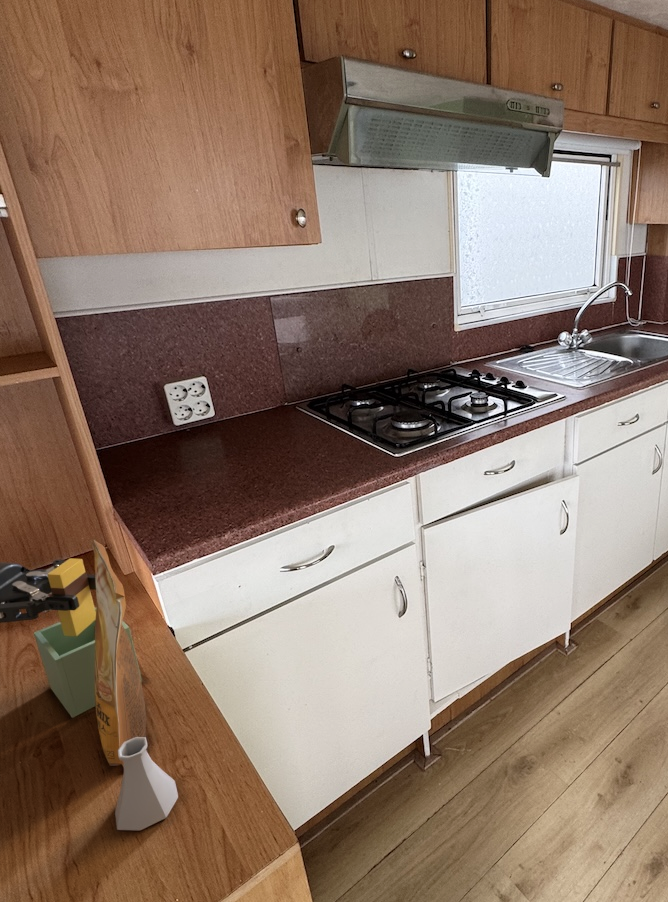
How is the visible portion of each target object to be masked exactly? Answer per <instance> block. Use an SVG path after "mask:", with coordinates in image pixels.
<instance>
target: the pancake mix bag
mask: <svg viewBox="0 0 668 902" xmlns="http://www.w3.org/2000/svg"><path fill="white" fill-rule="evenodd" d="M89 543H90V545H91V547H92V550H93V554H94V575H95V579H96V590H95V593H96V594H95V595H96V596H95V597H96V598H95V599H96V600H95V601H96V602H95V603H96V605H95V607H96V621H95V706H94V708H95V715H96V721H97V729H98V734H99V739H100V742H101V747H102V751H103V754H104V757H105V758H106V761H107V763H108V764H109V766H110V767H112V766H122V768H123V769H124V764H123V761H122V760H119V756H118V749H119V748H120V747H121V745H122V744H123V743H124V742H125V741H128V740H130V739H133V738H135V737H146V738H147V735H146V734H147V711H146V709H147V708H146V701H145V698H144V691H143V686H142V682H141V679H140V674H141V673H140V674H139V670H140V669H139V670H138V666H139V665H138V666H137V663H136V660H135V656H134V653H133V649H132V646H131V643H130V640H129V638H128V635H127V633H126V631H125V629H124V627H123V625H122V621H123V622H124V617H125V613H126V609H127V602H126V595H125V589H124V584H122V582H121V581H120V580H119V578H118V575H116V573H115V572H114V570H113V568H112V565H111V563H110V559H109V555H108V552H107V550H106V547H105V546H104V545H103V544H101V542H98V541H97V540H95V539H90V540H89Z"/></svg>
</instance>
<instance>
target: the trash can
mask: <svg viewBox="0 0 668 902" xmlns="http://www.w3.org/2000/svg"><path fill="white" fill-rule="evenodd" d="M94 608H95V612H96V606H94ZM95 621H96V620H95ZM95 621H93V622H92V623H91V624H90V625H89V626H88V627H87V628H86V629H84V630H83V631H82V632H81V633H80V634H79V635H78V636H64V633H63V629H62V626H61V622H60V621H59V622H56V623H54V624H52V625H49V626H45V627H43V628H42V629H39V630H37V631H34V632H33V635H34V639H35V643H36V645H37V648H38V653H39V655H40V658H41V662H42V665H43V668H44V672H45V675H46V678H47V681H48V685H49V688H50V689H51V691H52V692H53V693H54V695H55V696H56V698H57V699H58V701H59V702H60V703H61V705H62V706H63V707H64V709H65V710H66V711H67V713H68V715H70V717H71V718H72V719H73V718H75V717H77V716H79V715H81V714H83V713H85V712H88V710H89V711H90V710H91V709H92V708H95ZM122 625H123V627H124V629H125V631H126V633H127V635H128V638H129V640H130V643H131V646H132V649H133V653H134V656H135V660H136V663H137V666H138V670H139V674H140V679H141V683H142V682H143V679H142V675H141V670H140V666H139V662H138V658H137V654H136V648H135V645H134V641H133V637H132V632H131V628H130V626H129V625H128V624H126V623H125V621H124V620H123V621H122Z"/></svg>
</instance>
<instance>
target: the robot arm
mask: <svg viewBox="0 0 668 902" xmlns="http://www.w3.org/2000/svg"><path fill="white" fill-rule="evenodd" d="M65 561H66V560H65V559H61V558H58V559H55V560H53V561H52V564H53V566H51V567H49V568H46V569H44V568H40V569H33V570H31V569H28V568H26V567H25V566H23V565H22V564H20V563H16V562H15V563H14V562H0V624H2V623H3V624H4V623H13V622H22V621H33V620H36V619H37V618H39V617H40V615H39V614H41V613H49V612H51V611H57V610H62V611H67V610H76V609H77V608H78V607H79V602H78V598H77V597H76V596H75V595H60V594H52V592H51V586H50V583H49V579H48V576H47V574H48V573H50V572H51V571H53V570H54V569H55V568H57V567H58V566H60V565H61V564H63V563H64V562H65ZM86 574H87V573H86ZM87 578H88V582H89V588H90V591H91V590H93V591H96V579H95V574H87ZM20 610H25V611H26V612H23V613H22V612H20Z"/></svg>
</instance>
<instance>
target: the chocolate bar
mask: <svg viewBox="0 0 668 902" xmlns="http://www.w3.org/2000/svg"><path fill="white" fill-rule="evenodd" d="M85 568H86V567H85V564H84V560H83V558H68V559H66V560H65V562H64V563H63V564H61V565H60V566H58V567H57V568H55V569H54V570H53V571H51V572H50V573H48V574H47V576H48V579H49V583H50V586H51V592H52V594H60V595H75V596H76V597H77V598H78V602H79V607H78V608H77V609H76V610H67V611H62V610H56V611H57V614H58V618H59V622H61V626H62V629H63V633H64V636H78V635H79V634H80V633H81V632H82V631H83V630H84V629H86V628H87V627H88V626H89V625H90V624H91V623H92V622H93V621H95V620H96V612H95V604H94V599H93V595H92V593H91V592H92V591H91V590H90V588H89V582H88V578H87V571H86V569H85ZM52 594H51V595H52Z"/></svg>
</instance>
